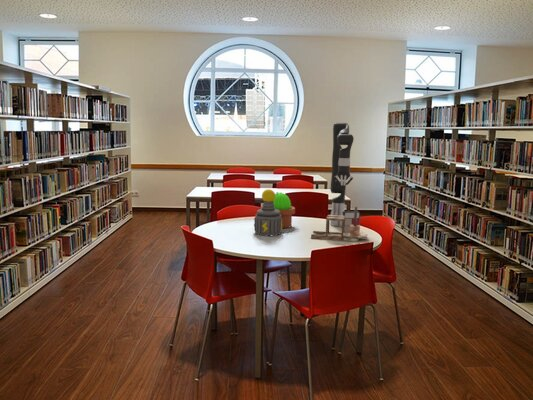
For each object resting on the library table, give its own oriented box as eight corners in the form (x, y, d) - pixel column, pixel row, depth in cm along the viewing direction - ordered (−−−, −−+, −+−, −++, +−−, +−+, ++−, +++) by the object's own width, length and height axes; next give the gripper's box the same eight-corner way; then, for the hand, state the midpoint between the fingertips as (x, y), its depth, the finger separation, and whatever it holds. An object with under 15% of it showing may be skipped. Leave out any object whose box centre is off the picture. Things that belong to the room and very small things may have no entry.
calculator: (343, 234, 326) (344, 212, 323) (341, 232, 330) (342, 211, 328) (359, 233, 328) (360, 212, 326) (356, 232, 332) (357, 211, 330)
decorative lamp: (279, 237, 314) (280, 191, 309) (251, 235, 317) (251, 190, 313) (284, 231, 332) (284, 188, 328) (257, 229, 335) (258, 187, 331)
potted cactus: (292, 229, 337) (293, 194, 334) (262, 228, 341) (262, 193, 338) (296, 223, 359) (297, 190, 355) (267, 222, 362) (268, 189, 359)
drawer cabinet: (311, 238, 311) (311, 217, 309) (313, 234, 323) (313, 214, 321) (358, 241, 305) (358, 219, 303) (358, 237, 316) (359, 216, 314)
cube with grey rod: (341, 237, 308) (343, 207, 305) (342, 234, 317) (343, 205, 314) (367, 238, 305) (368, 208, 302) (367, 235, 313) (368, 206, 311)
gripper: (354, 164, 316) (353, 190, 320) (334, 163, 319) (333, 189, 322) (354, 165, 309) (352, 192, 312) (333, 165, 312) (332, 191, 315)
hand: (343, 190), depth 317 cm, fingers closed
